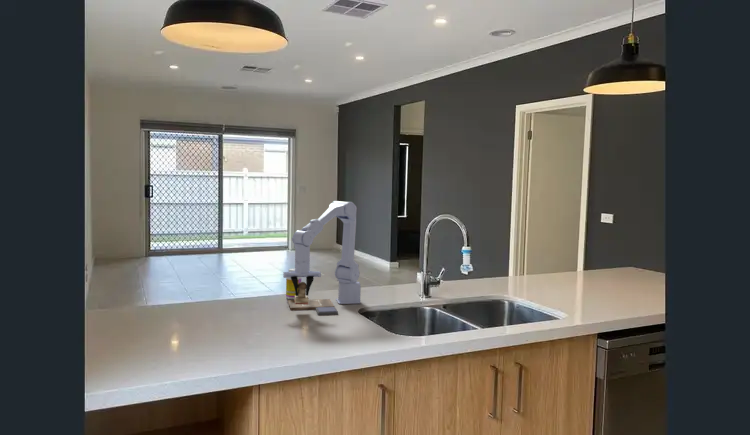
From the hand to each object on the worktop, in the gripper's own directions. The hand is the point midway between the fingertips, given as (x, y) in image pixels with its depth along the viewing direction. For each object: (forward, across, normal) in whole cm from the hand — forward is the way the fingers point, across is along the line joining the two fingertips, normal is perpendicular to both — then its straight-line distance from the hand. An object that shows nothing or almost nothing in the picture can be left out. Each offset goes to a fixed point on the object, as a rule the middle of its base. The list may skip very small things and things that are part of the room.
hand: (301, 295), depth 211 cm
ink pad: (+7, +10, 0) cm, 12 cm away
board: (+7, +5, +11) cm, 14 cm away
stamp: (+3, 0, 0) cm, 3 cm away
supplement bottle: (+7, -1, +26) cm, 27 cm away
